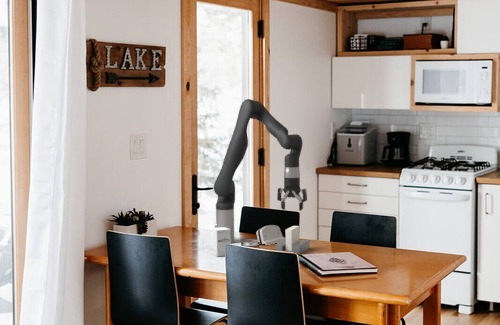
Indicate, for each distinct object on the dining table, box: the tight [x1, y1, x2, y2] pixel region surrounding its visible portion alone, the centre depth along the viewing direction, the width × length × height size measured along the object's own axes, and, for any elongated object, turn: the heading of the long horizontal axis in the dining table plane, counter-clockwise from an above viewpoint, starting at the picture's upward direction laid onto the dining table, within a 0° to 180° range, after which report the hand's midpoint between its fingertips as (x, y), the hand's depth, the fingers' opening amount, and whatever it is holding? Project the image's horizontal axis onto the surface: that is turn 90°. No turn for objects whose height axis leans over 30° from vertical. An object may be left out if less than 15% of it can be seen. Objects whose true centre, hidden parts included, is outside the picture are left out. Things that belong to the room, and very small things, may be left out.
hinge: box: [255, 224, 286, 246], centre depth 406 cm, size 17×5×10 cm, turn 141°
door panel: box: [284, 225, 301, 251], centre depth 384 cm, size 12×3×10 cm, turn 158°
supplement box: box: [209, 227, 232, 257], centre depth 376 cm, size 7×7×13 cm
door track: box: [274, 238, 311, 255], centre depth 384 cm, size 16×12×4 cm
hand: (292, 210), depth 383 cm, fingers open, 8 cm apart
